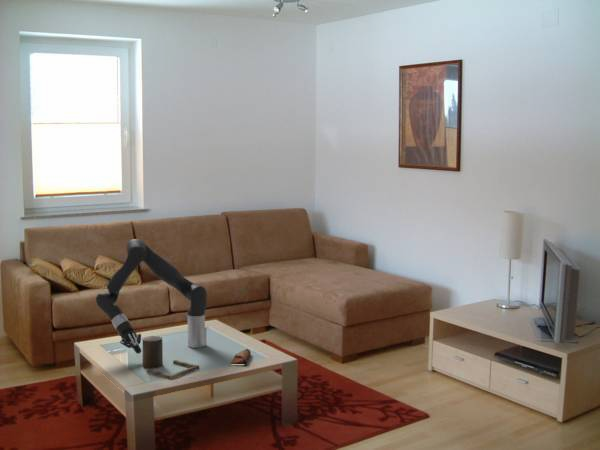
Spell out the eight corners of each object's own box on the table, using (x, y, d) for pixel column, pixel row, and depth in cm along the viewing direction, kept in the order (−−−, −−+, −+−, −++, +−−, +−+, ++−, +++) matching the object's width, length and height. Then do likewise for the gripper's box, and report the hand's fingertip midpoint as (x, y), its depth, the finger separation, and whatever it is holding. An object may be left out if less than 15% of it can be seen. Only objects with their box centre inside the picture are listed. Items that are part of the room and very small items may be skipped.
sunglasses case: (234, 354, 369) (240, 343, 368) (245, 361, 369) (252, 350, 368) (229, 365, 351) (236, 354, 350) (241, 373, 351) (248, 361, 351)
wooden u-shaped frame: (147, 372, 340) (147, 369, 339) (175, 362, 355) (175, 359, 355) (171, 379, 331) (171, 376, 331) (199, 368, 346) (199, 365, 346)
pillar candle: (156, 369, 345) (156, 339, 343) (138, 367, 348) (138, 337, 346) (166, 363, 354) (166, 334, 352) (149, 361, 357) (148, 332, 355)
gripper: (128, 326, 368) (145, 353, 362) (108, 332, 357) (125, 360, 351) (135, 317, 364) (152, 345, 359) (115, 323, 353) (133, 351, 348)
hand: (139, 352), depth 355 cm, fingers closed
